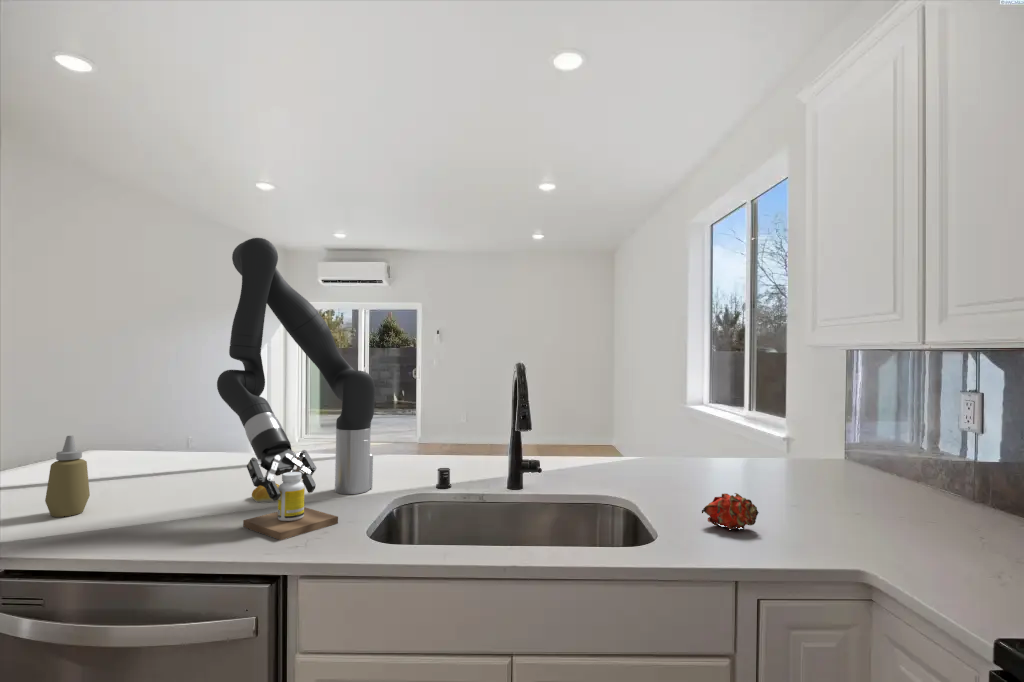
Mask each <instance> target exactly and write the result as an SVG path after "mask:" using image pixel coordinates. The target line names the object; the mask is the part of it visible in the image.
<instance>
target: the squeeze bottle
mask: <svg viewBox="0 0 1024 682" xmlns="http://www.w3.org/2000/svg"><path fill="white" fill-rule="evenodd" d="M55 456H56V460H57V461H54V462H53V463H51V465H50V468H49V475H48V479H47V480H48V481H47V488H46V494H45V500H44V502H45V505H46V507H47V510H48V512H49V514H50V516H51V517H56V518H62V517H64V516H65V517H71V515H72V516H76V515H79V514H82V513H83V512H84V510H85V508H86V507H87V503H88V500H89V498H90V495H91V494H90V492H91V491H90V481H89V471H88V462H87V460H86V459H84V458H82V457H83V450H81V449H80V450H79V449H77V445H76V441H75V438H74V435H67V436H66V437H65V440H64V444H63V447H62V450H61V451H57V452H56V455H55Z"/></svg>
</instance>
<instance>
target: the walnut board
mask: <svg viewBox="0 0 1024 682" xmlns="http://www.w3.org/2000/svg"><path fill="white" fill-rule="evenodd" d="M338 523H339V516H338V515H333V514H331V513H326V512H322V511H319V510H316V509H312V508H309V507H305V506H304V516H303V518H301V519H299V520H295V521H281V520H279V519H278V511H274V512H272V513H267V514H262V515H259V516H255V517H250V518H246V519H244V520H243V521H242V524H243V528H244V527H246V528H245V529H247V528H249V529H248V530H250V529H251V531H253V530H254V532H256V533H258V532H260V533H259V534H261V533H262V535H264V534H265V535H264V536H267V535H268V537H270V536H271V537H270V538H273V537H274V539H275V538H276V540H278V539H279V541H283V540H287V539H289V538H293V537H296V535H297V536H300V535H304V534H306V533H310V532H314V531H316V530H321V529H324V528H328V527H330V526H334V525H337V524H338ZM292 536H293V537H292ZM286 538H287V539H286Z"/></svg>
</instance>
